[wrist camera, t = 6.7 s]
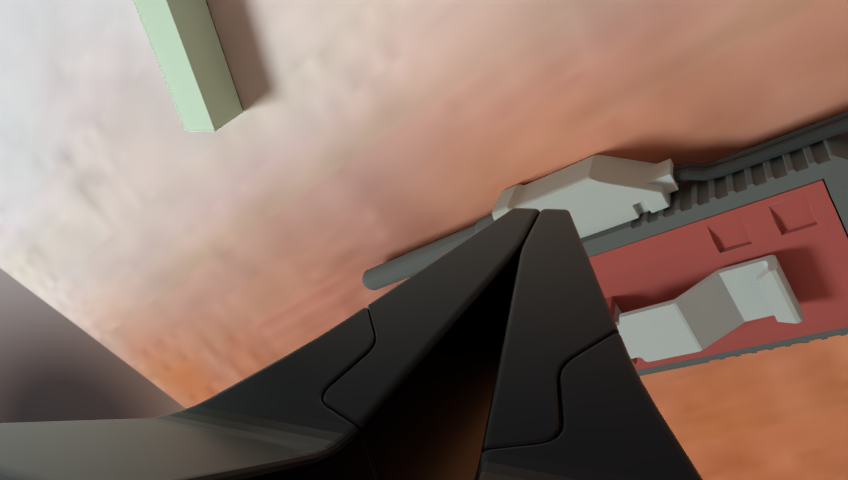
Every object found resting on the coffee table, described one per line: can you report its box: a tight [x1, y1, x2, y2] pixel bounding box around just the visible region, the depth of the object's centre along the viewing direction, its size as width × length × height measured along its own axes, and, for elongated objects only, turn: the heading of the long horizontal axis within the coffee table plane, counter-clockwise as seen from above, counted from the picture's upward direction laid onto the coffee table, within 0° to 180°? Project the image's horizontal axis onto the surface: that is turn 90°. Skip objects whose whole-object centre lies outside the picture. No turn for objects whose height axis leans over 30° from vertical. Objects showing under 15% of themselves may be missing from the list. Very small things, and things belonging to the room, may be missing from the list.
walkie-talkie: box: [362, 111, 848, 376], centre depth 22 cm, size 9×4×20 cm
